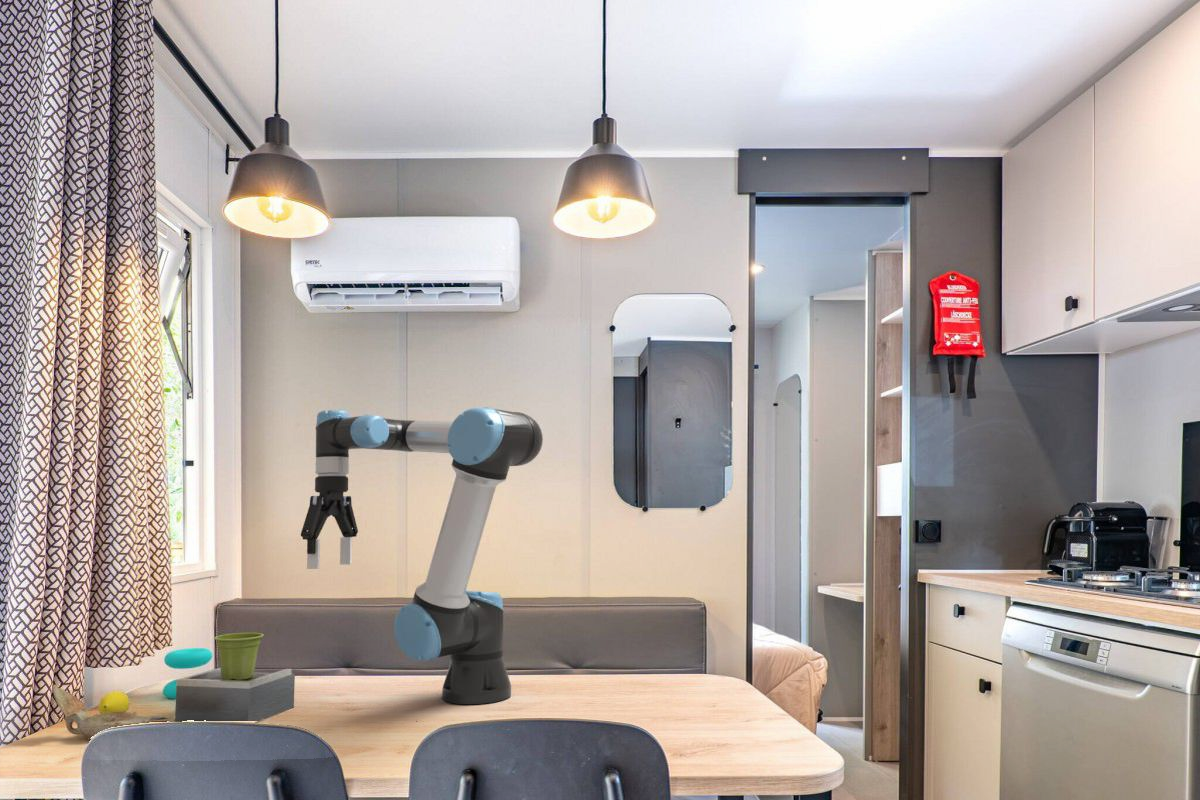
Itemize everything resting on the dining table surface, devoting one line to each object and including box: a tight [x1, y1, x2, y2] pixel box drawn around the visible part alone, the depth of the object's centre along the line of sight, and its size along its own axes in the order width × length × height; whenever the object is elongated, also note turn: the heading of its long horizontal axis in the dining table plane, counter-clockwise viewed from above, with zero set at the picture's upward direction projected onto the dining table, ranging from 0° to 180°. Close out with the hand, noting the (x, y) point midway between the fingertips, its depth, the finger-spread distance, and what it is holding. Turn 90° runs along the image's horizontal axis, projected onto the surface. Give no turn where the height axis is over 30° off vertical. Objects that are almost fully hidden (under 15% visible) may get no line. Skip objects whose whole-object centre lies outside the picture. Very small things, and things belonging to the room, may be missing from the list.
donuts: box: [162, 647, 213, 700], centre depth 192 cm, size 10×10×10 cm
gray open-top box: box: [174, 667, 296, 722], centre depth 173 cm, size 20×15×8 cm
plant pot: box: [214, 632, 265, 680], centre depth 173 cm, size 9×9×9 cm
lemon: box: [97, 690, 130, 714], centre depth 171 cm, size 7×5×5 cm
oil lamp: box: [52, 684, 171, 740], centre depth 157 cm, size 9×21×10 cm, turn 95°
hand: (330, 566), depth 194 cm, fingers open, 13 cm apart
